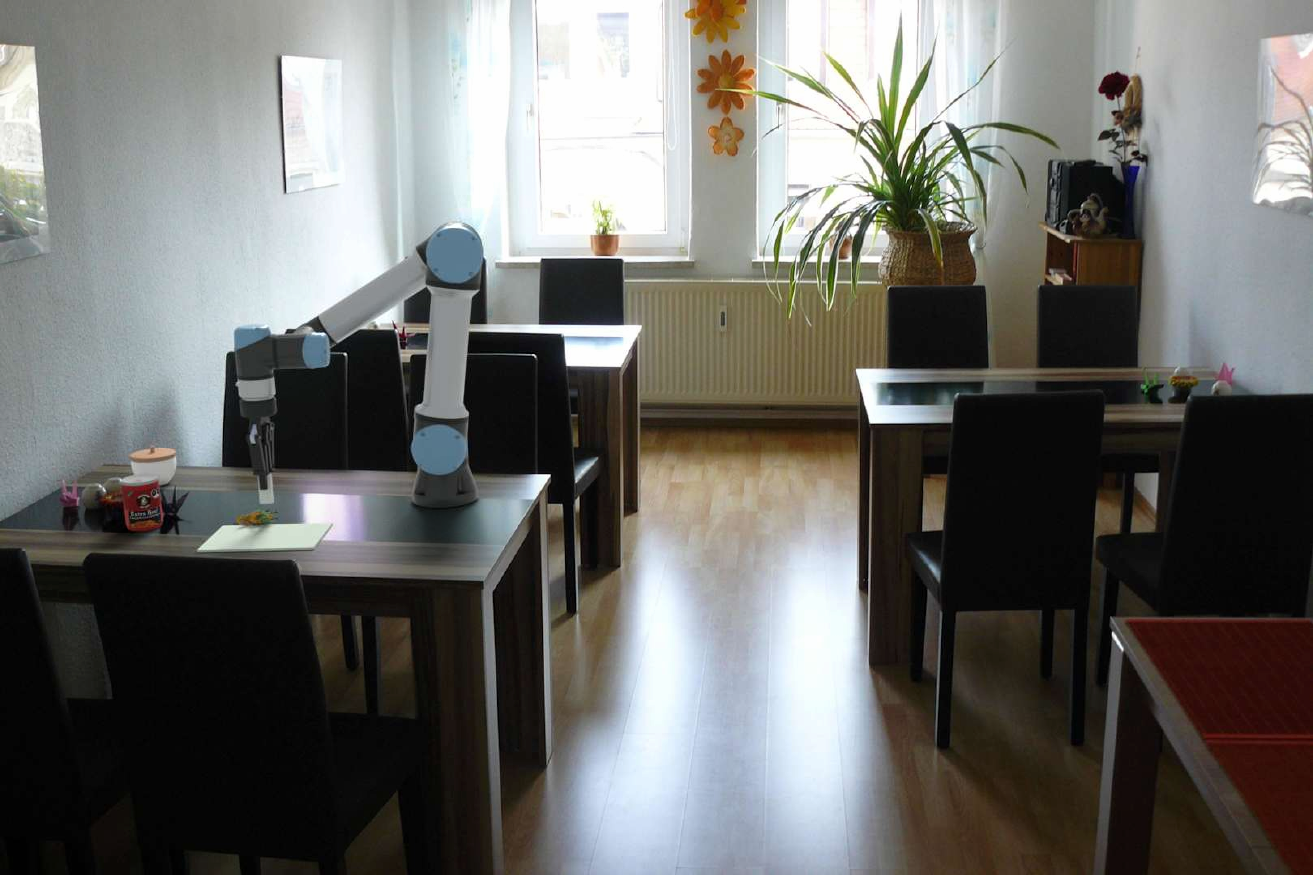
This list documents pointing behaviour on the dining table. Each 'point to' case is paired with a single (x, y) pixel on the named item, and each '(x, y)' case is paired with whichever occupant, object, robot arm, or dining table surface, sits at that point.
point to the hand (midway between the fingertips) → (267, 502)
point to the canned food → (142, 502)
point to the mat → (266, 537)
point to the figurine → (257, 517)
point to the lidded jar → (155, 463)
